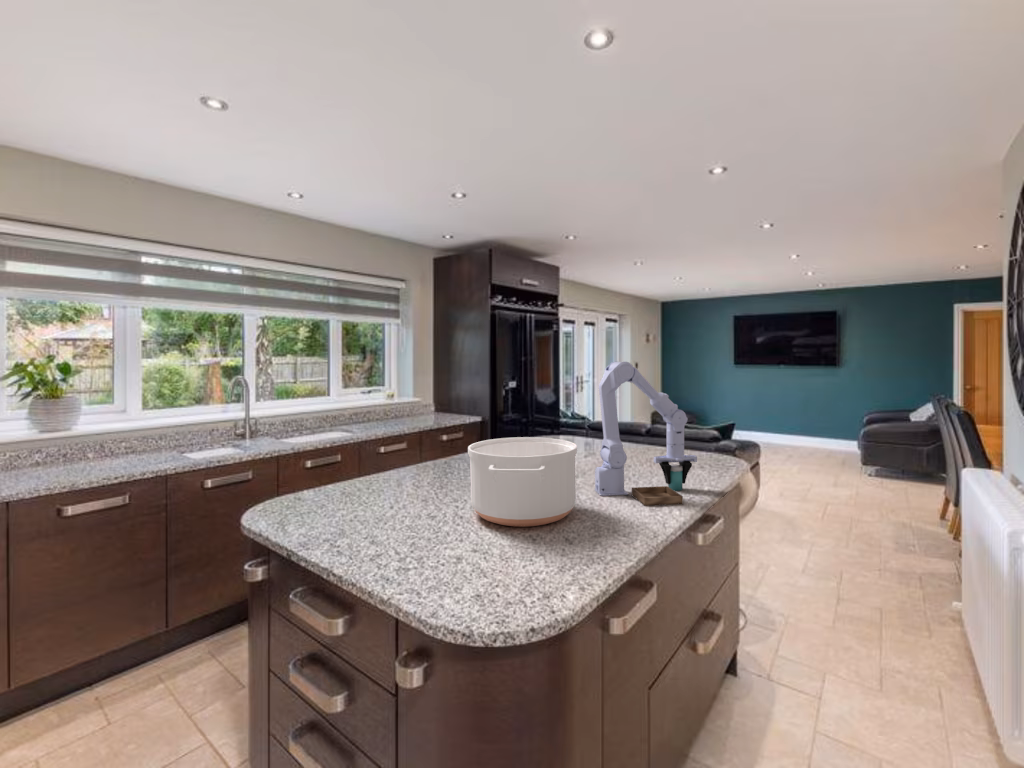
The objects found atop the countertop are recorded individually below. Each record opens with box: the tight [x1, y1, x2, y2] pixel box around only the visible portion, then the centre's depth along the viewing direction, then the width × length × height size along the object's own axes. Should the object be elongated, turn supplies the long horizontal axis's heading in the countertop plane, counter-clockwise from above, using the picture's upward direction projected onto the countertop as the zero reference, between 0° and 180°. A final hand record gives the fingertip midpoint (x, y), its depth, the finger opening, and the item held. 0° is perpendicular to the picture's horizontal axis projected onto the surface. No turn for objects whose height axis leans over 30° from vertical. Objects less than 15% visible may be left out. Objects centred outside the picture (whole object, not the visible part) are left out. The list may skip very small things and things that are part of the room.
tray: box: [631, 485, 684, 507], centre depth 155 cm, size 12×12×2 cm
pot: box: [467, 436, 578, 528], centre depth 143 cm, size 42×32×20 cm
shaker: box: [667, 463, 683, 492], centre depth 167 cm, size 5×5×8 cm
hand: (675, 483), depth 167 cm, fingers closed on shaker, 5 cm apart
